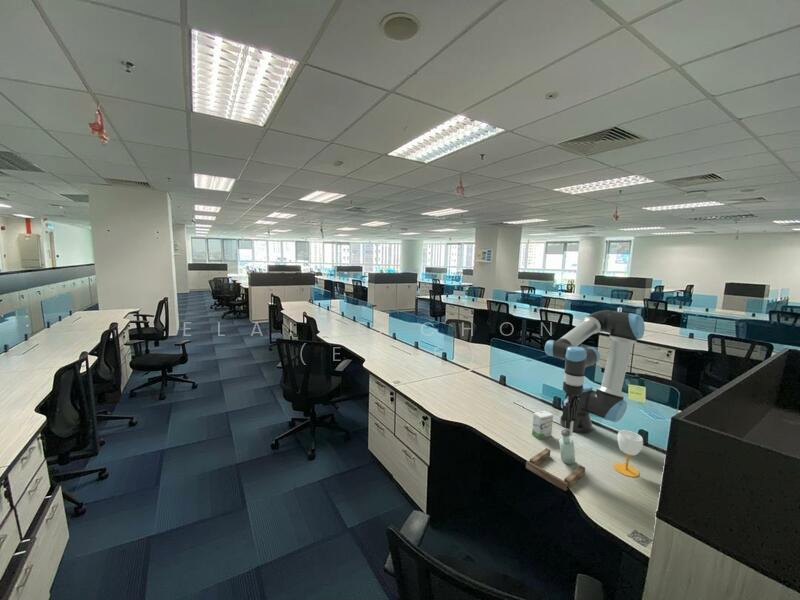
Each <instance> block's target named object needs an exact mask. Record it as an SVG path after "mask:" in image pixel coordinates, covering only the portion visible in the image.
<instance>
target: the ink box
mask: <svg viewBox="0 0 800 600" xmlns="http://www.w3.org/2000/svg"><path fill="white" fill-rule="evenodd" d="M532 415H533V418H532V431H531V432H532V433H531V434H532V436H534V437H535V438H536V439H538V440H542V439H545V438H548V437H552V431H553V420H554V414H553V413H551V412H549V411H547V410H542V411H535V412H534V413H533V414H532Z"/></svg>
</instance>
